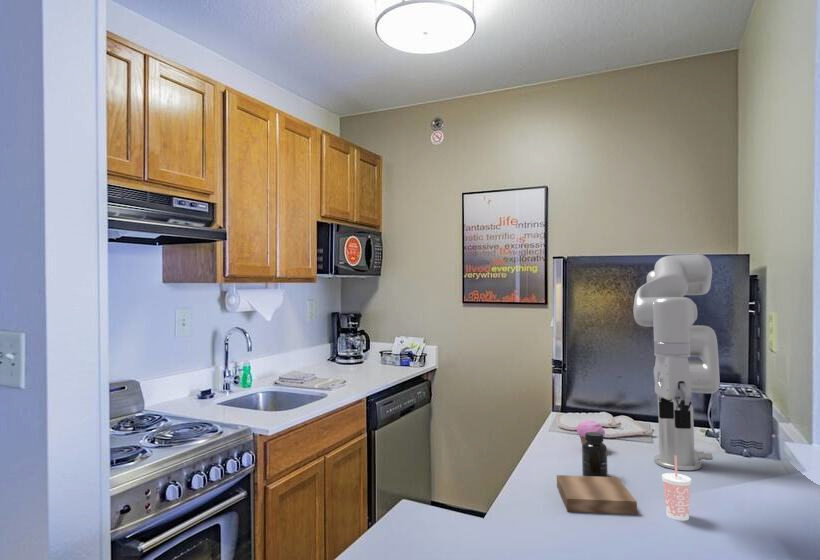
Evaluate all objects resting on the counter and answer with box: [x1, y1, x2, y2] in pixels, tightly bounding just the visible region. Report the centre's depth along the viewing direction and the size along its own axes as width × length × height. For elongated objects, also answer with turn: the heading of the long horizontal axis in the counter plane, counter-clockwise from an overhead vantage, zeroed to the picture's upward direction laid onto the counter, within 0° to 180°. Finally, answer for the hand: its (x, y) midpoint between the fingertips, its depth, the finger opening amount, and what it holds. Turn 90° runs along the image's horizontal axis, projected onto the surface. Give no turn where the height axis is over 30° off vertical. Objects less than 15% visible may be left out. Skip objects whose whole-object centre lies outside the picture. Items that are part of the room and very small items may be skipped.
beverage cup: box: [661, 455, 692, 522], centre depth 116 cm, size 6×6×14 cm
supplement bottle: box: [581, 432, 609, 477], centre depth 142 cm, size 7×7×12 cm
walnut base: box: [556, 474, 638, 515], centre depth 126 cm, size 16×16×3 cm
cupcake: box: [576, 420, 605, 445], centre depth 165 cm, size 9×9×10 cm
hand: (674, 423), depth 116 cm, fingers open, 9 cm apart
